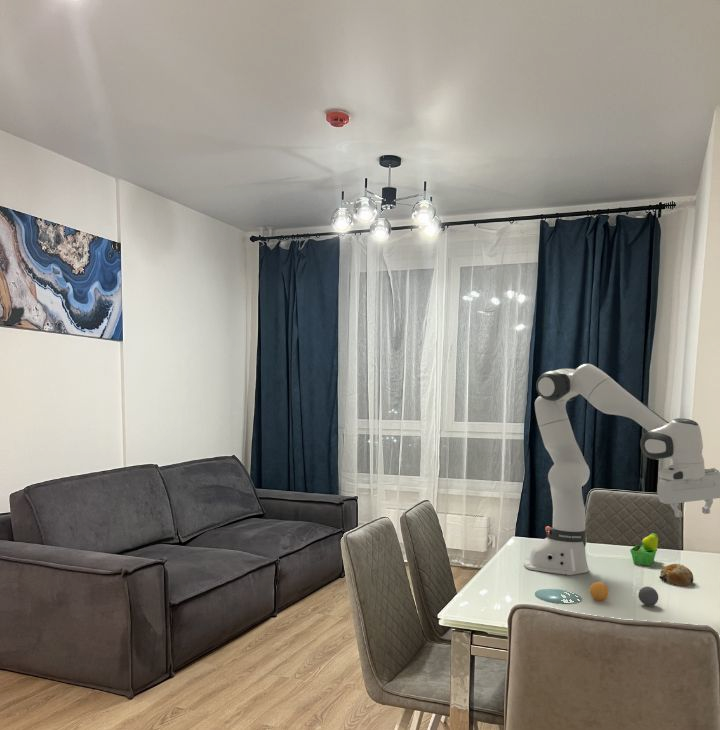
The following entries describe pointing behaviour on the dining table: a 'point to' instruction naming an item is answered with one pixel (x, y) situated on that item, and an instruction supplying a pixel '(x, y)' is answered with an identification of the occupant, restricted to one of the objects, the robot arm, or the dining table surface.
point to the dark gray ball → (648, 596)
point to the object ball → (599, 591)
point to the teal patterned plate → (556, 595)
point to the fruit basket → (645, 550)
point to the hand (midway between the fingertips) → (692, 515)
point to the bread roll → (677, 575)
